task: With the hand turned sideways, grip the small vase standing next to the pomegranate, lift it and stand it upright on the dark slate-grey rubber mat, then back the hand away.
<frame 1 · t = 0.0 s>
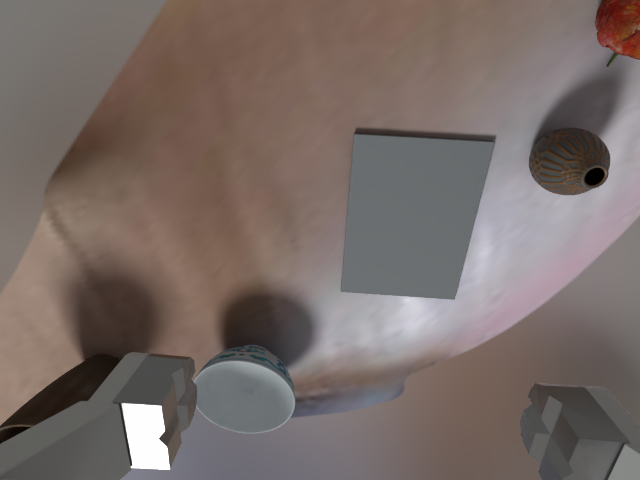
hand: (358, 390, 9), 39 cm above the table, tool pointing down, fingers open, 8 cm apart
pomegranate: (618, 23, 38), on the table
chinaware: (254, 359, 62), on the table
vase: (550, 152, 45), on the table
mat: (408, 223, 49), on the table
plant pot: (110, 369, 65), on the table
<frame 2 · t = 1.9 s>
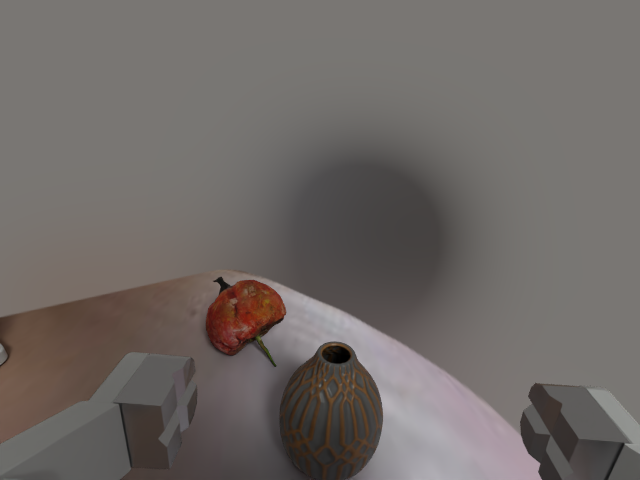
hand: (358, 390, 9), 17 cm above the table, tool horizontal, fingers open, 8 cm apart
pomegranate: (248, 349, 38), on the table
vase: (327, 455, 27), on the table
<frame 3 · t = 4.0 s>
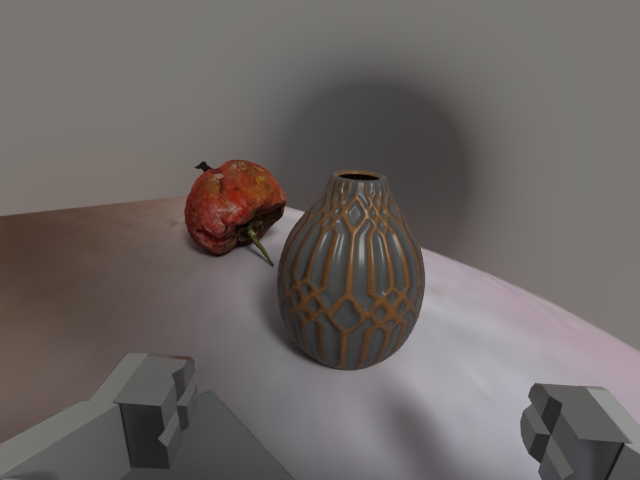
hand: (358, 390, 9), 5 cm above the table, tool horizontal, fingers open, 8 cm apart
pomegranate: (239, 253, 30), on the table
vase: (344, 347, 20), on the table
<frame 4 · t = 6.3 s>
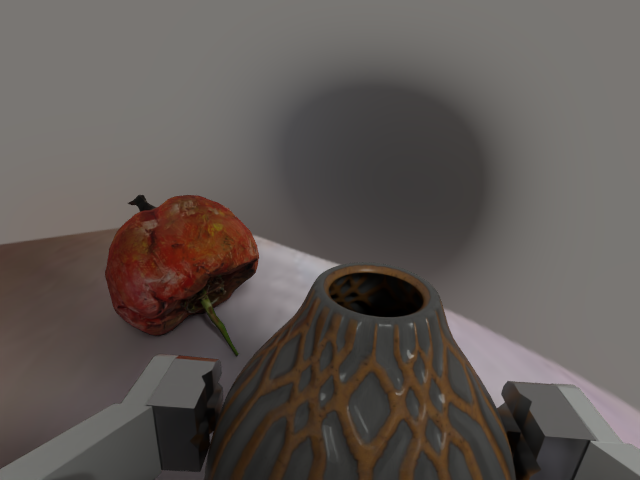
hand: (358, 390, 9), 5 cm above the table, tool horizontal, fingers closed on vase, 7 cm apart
pomegranate: (193, 326, 21), on the table
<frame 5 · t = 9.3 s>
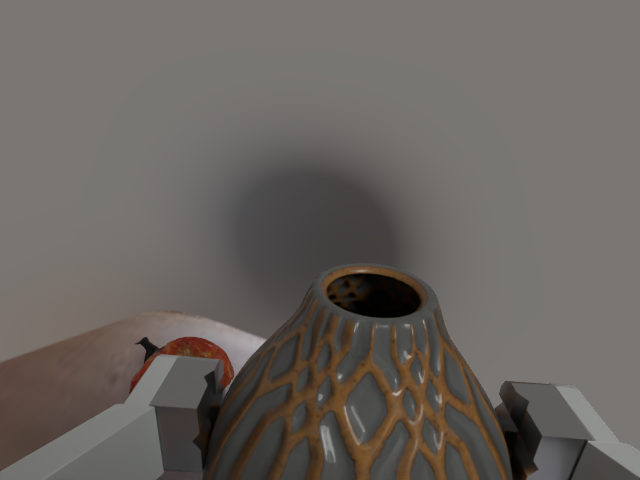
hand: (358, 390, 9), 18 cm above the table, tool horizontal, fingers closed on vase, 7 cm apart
pomegranate: (189, 422, 30), on the table
when the fingers open (7 cm above the table, at t = 12.2 s): vase drops 1 cm, resting on mat.
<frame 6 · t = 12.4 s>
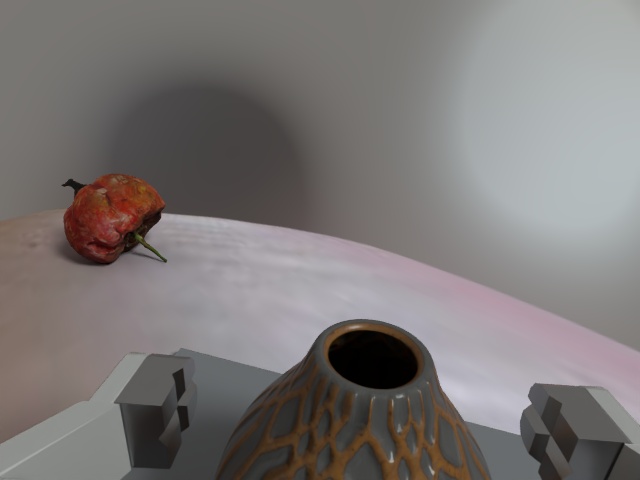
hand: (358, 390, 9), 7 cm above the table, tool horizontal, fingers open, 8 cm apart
pomegranate: (126, 258, 33), on the table
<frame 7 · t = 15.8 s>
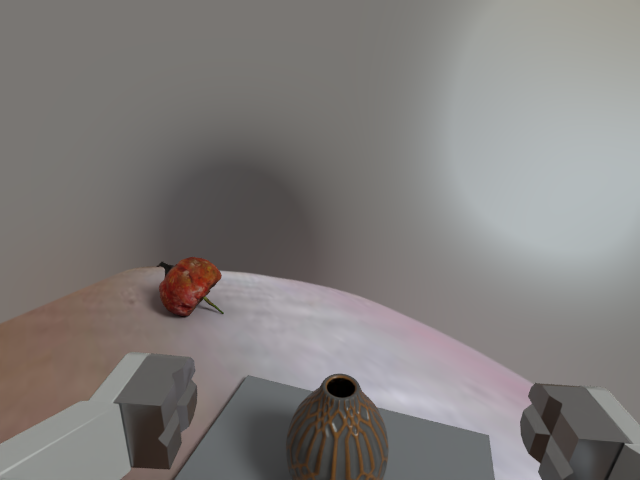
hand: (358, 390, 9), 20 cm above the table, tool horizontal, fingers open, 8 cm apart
pomegranate: (195, 311, 49), on the table
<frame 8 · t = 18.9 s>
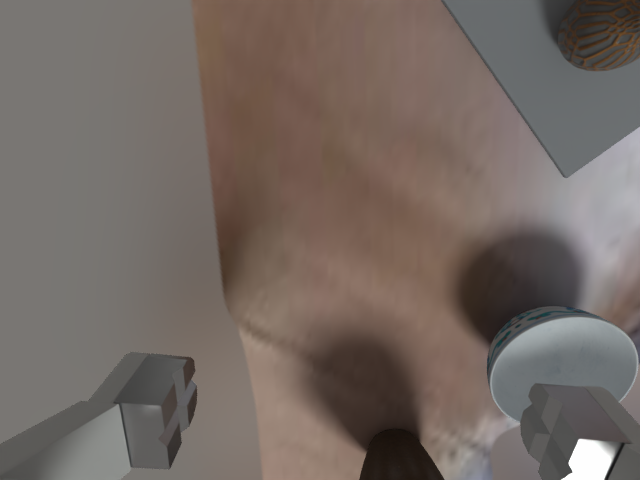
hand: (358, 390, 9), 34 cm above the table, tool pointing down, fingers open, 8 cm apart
chinaware: (528, 332, 48), on the table
vase: (583, 32, 35), resting on mat
mat: (581, 33, 36), on the table
plant pot: (395, 446, 56), on the table
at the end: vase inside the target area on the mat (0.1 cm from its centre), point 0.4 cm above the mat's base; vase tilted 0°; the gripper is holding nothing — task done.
